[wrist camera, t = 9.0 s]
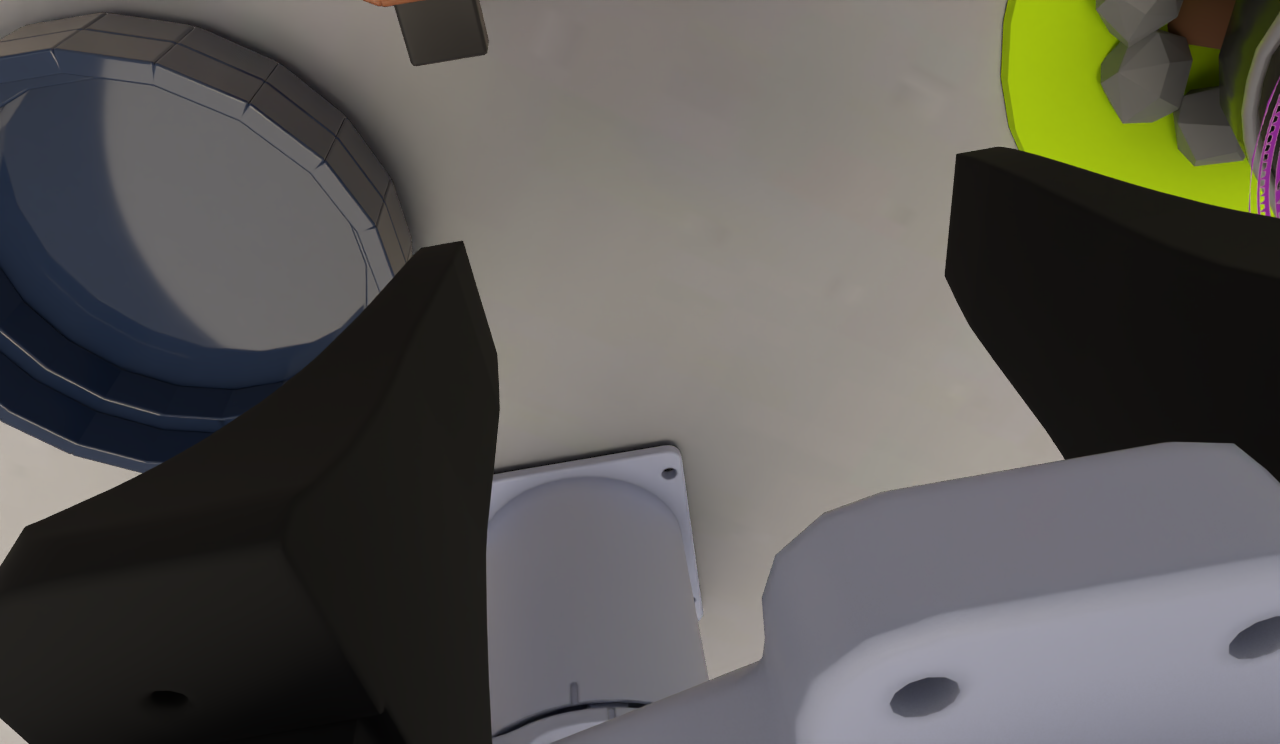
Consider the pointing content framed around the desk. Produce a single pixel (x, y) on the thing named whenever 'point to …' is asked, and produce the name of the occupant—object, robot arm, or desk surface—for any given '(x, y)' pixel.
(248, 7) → the desk surface
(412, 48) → the copper pot
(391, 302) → the robot arm
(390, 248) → the pan
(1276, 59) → the toy cauldron
